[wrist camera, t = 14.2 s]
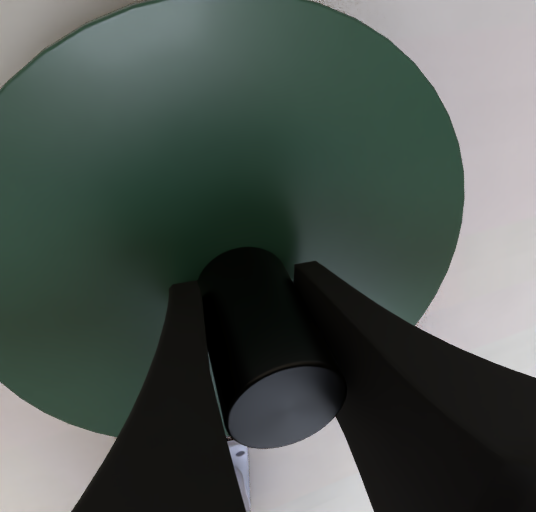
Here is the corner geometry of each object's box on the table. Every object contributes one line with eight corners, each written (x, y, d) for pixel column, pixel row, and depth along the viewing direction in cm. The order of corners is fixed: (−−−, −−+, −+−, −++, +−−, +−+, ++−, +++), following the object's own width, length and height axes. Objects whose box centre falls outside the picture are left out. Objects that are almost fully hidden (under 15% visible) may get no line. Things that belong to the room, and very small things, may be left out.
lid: (399, 370, 18) (482, 491, 14) (49, 454, 15) (20, 644, 11) (501, -14, 10) (762, -4, 6) (-190, -11, 7) (-646, 16, 3)
